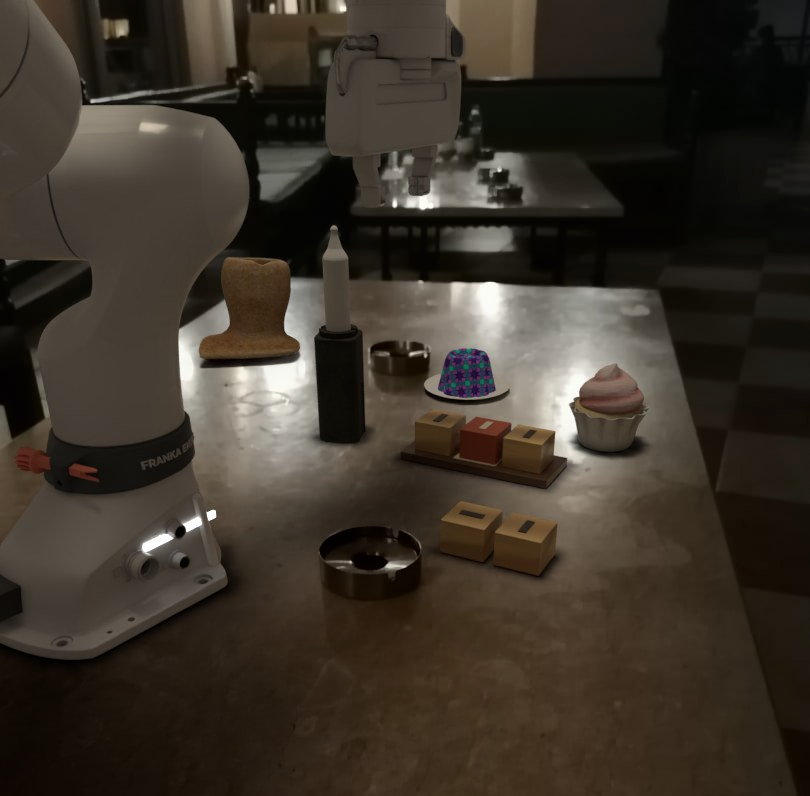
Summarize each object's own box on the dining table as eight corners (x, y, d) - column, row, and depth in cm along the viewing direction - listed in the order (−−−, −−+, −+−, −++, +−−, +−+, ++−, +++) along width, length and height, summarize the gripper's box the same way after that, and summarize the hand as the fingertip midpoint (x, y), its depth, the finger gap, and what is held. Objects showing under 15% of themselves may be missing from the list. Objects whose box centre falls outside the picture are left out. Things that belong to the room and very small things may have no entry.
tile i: (483, 562, 85) (484, 528, 83) (440, 551, 87) (440, 518, 85) (501, 542, 88) (503, 509, 87) (459, 532, 90) (460, 499, 89)
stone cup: (299, 341, 148) (293, 247, 141) (300, 364, 138) (294, 263, 131) (206, 345, 147) (195, 250, 140) (199, 368, 136) (187, 266, 129)
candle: (357, 443, 110) (350, 230, 98) (317, 440, 111) (305, 229, 99) (367, 428, 115) (361, 222, 103) (328, 425, 116) (318, 221, 104)
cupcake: (624, 464, 104) (634, 381, 99) (552, 446, 109) (558, 365, 104) (657, 439, 111) (668, 360, 106) (588, 423, 116) (596, 346, 111)
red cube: (495, 464, 102) (496, 435, 100) (458, 457, 104) (459, 428, 102) (510, 450, 105) (511, 421, 104) (475, 444, 107) (475, 415, 105)
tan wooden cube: (538, 576, 83) (541, 541, 81) (492, 565, 85) (494, 531, 83) (555, 554, 86) (557, 521, 84) (511, 544, 88) (512, 511, 86)
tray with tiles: (545, 489, 99) (548, 450, 97) (400, 459, 106) (399, 422, 104) (566, 465, 104) (570, 428, 102) (426, 438, 112) (427, 403, 109)
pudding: (492, 372, 134) (493, 337, 131) (522, 399, 123) (524, 362, 121) (414, 380, 131) (413, 344, 128) (438, 408, 121) (438, 370, 118)
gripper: (370, 32, 72) (373, 217, 78) (473, 39, 88) (469, 191, 94) (302, 34, 74) (311, 212, 80) (415, 40, 90) (415, 188, 97)
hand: (397, 200), depth 87 cm, fingers open, 8 cm apart
